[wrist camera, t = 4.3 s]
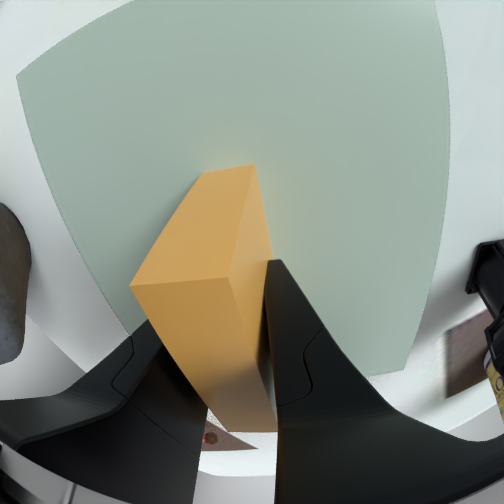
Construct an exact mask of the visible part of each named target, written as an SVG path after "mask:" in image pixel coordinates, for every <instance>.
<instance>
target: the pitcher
mask: <svg viewBox="0 0 504 504" xmlns="http://www.w3.org/2000/svg"><path fill="white" fill-rule="evenodd" d="M30 266H31V257H30V246H29V241H28V239H27V237H26V234H25V231H24V229H23V227H22V225H21V223H20V222H19V220H18V219H17V217H16V216H15V215H14V213H13V212H12V211H10V210H9V209H8V208H7V207H6V206H5V205H4V204H2V203H0V365H1V364H4V363H7V362H11V361H13V360H14V359H15V358H17V356H18V355H19V354H20V353H21V350H22V347H23V343H24V334H25V315H26V299H27V290H28V280H29V271H30Z"/></svg>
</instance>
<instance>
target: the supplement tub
mask: <svg viewBox="0 0 504 504" xmlns="http://www.w3.org/2000/svg"><path fill="white" fill-rule="evenodd" d="M484 368H485V370H486V373H487V375H488V378H489V381H490V383H491V386H492V389H493V392H494V394H495V397H496V400H497V403H498V406H499V410H500V413H501V416H502V420H503V423H504V378H503V377H502V376H501V375H500V374H499V373H498V372H496V371H495V369H494V366H493V363H492V359H491V355H490V351H489V350H488V352H487V354H486V356H485V359H484Z"/></svg>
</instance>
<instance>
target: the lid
mask: <svg viewBox="0 0 504 504" xmlns="http://www.w3.org/2000/svg"><path fill="white" fill-rule="evenodd" d="M16 78H17V83H18V88H19V93H20V97H21V101H22V106H23V109H24V113H25V117H26V121H27V124H28V128H29V131H30V134H31V138H32V141H33V144H34V147H35V150H36V153H37V156H38V159H39V162H40V164H41V167H42V170H43V173H44V175H45V178H46V180H47V183H48V185H49V188H50V190H51V193H52V195H53V198H54V200H55V202H56V205H57V207H58V209H59V211H60V214H61V216H62V218H63V220H64V222H65V224H66V227H67V229H68V231H69V233H70V235H71V237H72V239H73V241H74V243H75V245H76V247H77V249H78V251H79V253H80V254H81V256H82V258H83V260H84V262H85V264H86V266H87V267H88V269H89V271H90V273H91V275H92V276H93V278H94V280H95V281H96V283H97V285H98V287H99V288H100V290H101V292H102V293H103V295H104V297H105V298H106V300H107V301H108V303H109V305H110V306H111V308H112V309H113V311H114V312H115V314H116V316H117V317H118V319H119V320H120V322H121V323H122V325H123V326H124V328H125V329H126V331H127V332H128V333H129V335H130V336H131V334H132V333H133V332H134V331H135V330H136V329H137V328H138V327H139V326H140V325H141V324H142V323H143V322H145V321H146V320H147V319H149V321H150V323H151V324H152V326H153V328H154V329H155V331H156V333H157V334H158V336H159V337H160V339H161V340H162V342H163V344H164V345H165V347H166V348H167V350H168V351H169V353H170V354H171V356H172V357H173V359H174V360H175V362H176V363H177V365H178V366H179V368H180V369H181V371H182V372H183V374H184V375H185V376H186V378H187V379H188V381H189V382H190V383H191V385H192V386H193V388H194V389H195V390H196V392H197V393H198V394H199V396H200V397H201V398H202V400H203V401H204V402H205V404H206V405H207V406H208V408H209V409H210V410H211V411H212V413H213V414H214V415H215V417H216V418H217V419H218V420H219V422H220V423H221V424H222V425H223V427H224V428H225V429H226V430H227V431H228V432H278V425H277V411H276V410H277V408H276V401H275V391H274V381H273V371H272V361H271V352H270V342H269V332H268V323H267V313H266V304H265V295H264V283H265V276H266V270H267V263H268V261H269V260H274V259H281V260H282V261H283V262H284V264H285V265H286V267H287V268H288V270H289V271H290V273H291V275H292V276H293V278H294V279H295V281H296V282H297V284H298V285H299V287H300V288H301V290H302V291H303V293H304V294H305V296H306V297H307V299H308V300H309V302H310V303H311V305H312V307H313V308H314V310H315V311H316V313H317V314H318V316H319V317H320V319H321V320H322V322H323V324H324V325H325V327H326V328H327V329H328V331H329V333H330V334H331V336H332V337H333V339H334V340H335V341H336V343H337V344H338V346H339V347H340V349H341V350H342V351H343V352H344V354H345V355H346V356H347V357H348V358H349V360H350V361H351V362H352V363H353V365H354V366H355V367H356V368H357V369H358V370H359V371H360V372H361V374H362V375H363V376H364V377H367V376H373V375H379V374H384V373H390V372H395V371H400V370H404V367H405V364H406V362H407V359H408V357H409V354H410V351H411V348H412V346H413V343H414V340H415V337H416V334H417V331H418V328H419V325H420V322H421V318H422V315H423V312H424V308H425V305H426V301H427V298H428V294H429V290H430V286H431V282H432V278H433V274H434V270H435V265H436V260H437V255H438V250H439V245H440V240H441V234H442V228H443V221H444V214H445V206H446V198H447V188H448V176H449V159H450V104H449V88H448V77H447V68H446V60H445V52H444V46H443V40H442V34H441V29H440V24H439V19H438V15H437V11H436V7H435V3H434V0H134V1H132V2H129V3H127V4H125V5H123V6H121V7H119V8H117V9H115V10H113V11H111V12H109V13H107V14H105V15H103V16H101V17H100V18H98V19H96V20H94V21H92V22H91V23H89V24H87V25H86V26H84V27H82V28H81V29H79V30H77V31H76V32H74V33H73V34H71V35H69V36H68V37H66V38H65V39H63V40H62V41H60V42H59V43H57V44H56V45H55V46H53V47H52V48H50V49H49V50H48V51H46V52H45V53H44V54H42V55H41V56H40V57H38V58H37V59H36V60H34V61H33V62H32V63H31V64H29V65H28V66H27V67H26V68H25V69H23V70H22V71H21V72H20V73H19V74H17V75H16Z"/></svg>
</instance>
